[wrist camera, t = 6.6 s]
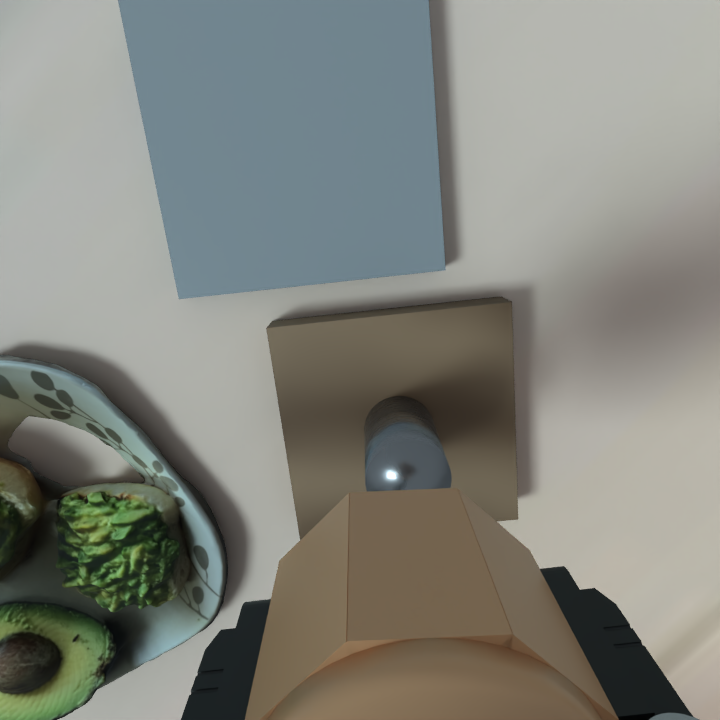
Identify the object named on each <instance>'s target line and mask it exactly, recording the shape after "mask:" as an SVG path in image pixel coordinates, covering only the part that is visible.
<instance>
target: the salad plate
mask: <svg viewBox="0 0 720 720" xmlns="http://www.w3.org/2000/svg"><path fill="white" fill-rule="evenodd" d="M28 416H34V417H41V418H48V419H54V420H58V421H61V422H64V423H66V424H68V425H71V426H74V427H77V428H79V429H82V430H85V431H87V432H89V433H91V434H93V435H94V436H96V437H98V438H99V439H100V440H101V441H103V442H104V443H105V444H106V445H109V446H111V447H113V448H114V449H115V450H116V451H117V452H118V453H119V454H120V455H121V456H122V457H123V459H125V460H126V461H127V462H128V463H129V464H130V465H131V466H132V467H133V468H134V469H135V470H136V471H137V472H138V473H139V474H140V475H141V476H142V477H143V478H144V480H145V482H144V483H142V484H137V483H130V482H127V481H125V482H119V483H102V484H96V485H91V486H85V487H80V486H79V487H78V486H70V487H65V486H62V485H60V484H59V483H57V482H54V481H52V480H50V479H48V478H45V477H43V476H40V475H39V474H37V473H36V472H34V471H33V469H32V466H31V462H30V461H29V460H28V459H26V458H24V457H21V456H19V455H17V454H15V453H13V452H11V451H10V449H9V448H8V446H7V445H8V441H9V439H10V437H11V436H12V434H13V432H14V431H15V429H16V428H17V427H18V426H19V425H20V424H21V422H22V421H23V420H24V419H25V418H26V417H28ZM227 575H228V564H227V553H226V547H225V543H224V539H223V537H222V534H221V532H220V530H219V527H218V525H217V522H216V520H215V518H214V516H213V514H212V511H211V509H210V508H209V506H208V504H207V503H206V501H205V499H204V498H203V496H202V495H201V494H200V493H199V491H198V490H197V489H195V488H194V487H193V486H192V485H191V484H190V483H188V482H187V481H186V480H184V479H183V478H182V477H181V476H179V474H178V473H177V472H176V471H175V470H174V469H173V467H172V466H171V465H170V464H169V463H168V462H167V461H166V460H165V458H164V457H163V456H162V454H161V453H160V451H159V450H158V448H157V447H156V446H155V445H154V444H153V443H152V441H151V440H150V438H149V437H148V436H147V435H146V434H145V433H144V432H143V431H142V430H141V429H140V428H139V427H138V425H137V424H135V423H134V422H133V421H132V420H131V419H129V418H128V417H127V416H126V415H125V414H124V413H123V412H122V411H121V410H120V409H119V408H117V407H116V406H115V405H114V404H113V403H112V402H111V401H110V400H109V399H108V398H107V397H106V395H105V394H104V393H103V391H102V390H101V389H100V388H99V387H98V386H97V385H95V384H94V383H92V382H90V381H88V380H87V379H85V378H83V377H81V376H79V375H77V374H75V373H73V372H71V371H69V370H67V369H65V368H62V367H60V366H58V365H56V364H52V363H46V362H42V361H38V360H33V359H24V358H19V357H13V356H10V355H0V720H57V719H60V718H62V717H65V716H66V715H68V714H69V713H72V712H73V711H74V710H76V709H78V708H80V707H81V706H83V705H85V704H86V703H87V702H88V701H89V700H90V699H91V698H92V697H93V695H94V693H95V692H96V690H97V689H99V688H101V687H103V686H105V685H107V684H109V683H110V682H112V681H114V680H116V679H117V678H119V677H121V676H123V675H125V674H126V673H128V672H130V671H132V670H134V669H136V668H138V667H139V666H141V665H142V664H144V663H145V662H147V661H151V660H153V659H155V658H157V657H159V656H160V655H162V654H163V653H165V652H167V651H169V650H171V649H173V648H175V647H177V646H179V645H180V644H182V643H184V642H186V641H187V640H188V639H190V638H191V637H193V636H194V635H196V634H197V633H199V632H201V631H203V630H204V629H206V628H207V627H208V626H209V625H210V624H211V623H212V622H213V621H214V619H215V618H216V616H217V615H218V613H219V611H220V608H221V606H222V604H223V600H224V595H225V590H226V583H227Z"/></svg>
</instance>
